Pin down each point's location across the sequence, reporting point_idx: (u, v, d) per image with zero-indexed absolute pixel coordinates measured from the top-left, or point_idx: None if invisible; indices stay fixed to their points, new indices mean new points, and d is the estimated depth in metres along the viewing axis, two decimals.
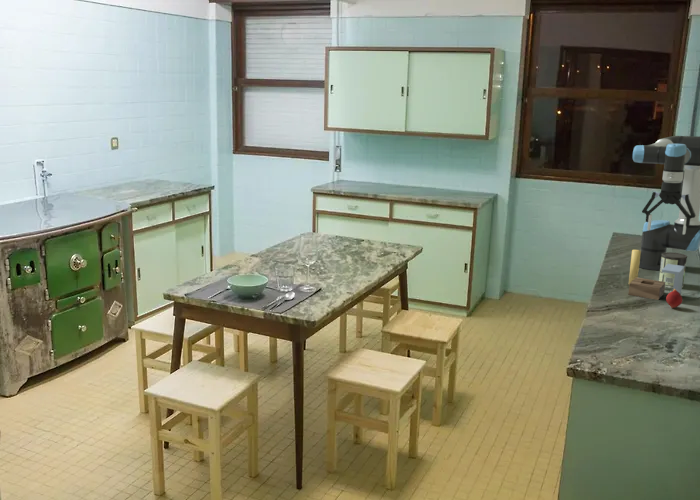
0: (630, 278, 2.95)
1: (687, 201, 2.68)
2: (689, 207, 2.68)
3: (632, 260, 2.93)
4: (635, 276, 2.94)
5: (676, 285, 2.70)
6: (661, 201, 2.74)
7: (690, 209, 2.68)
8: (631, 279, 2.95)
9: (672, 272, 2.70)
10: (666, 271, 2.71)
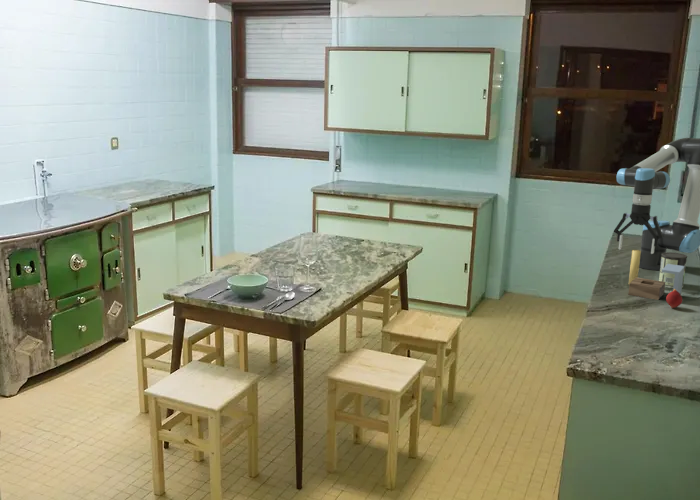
0: (630, 278, 2.95)
1: (655, 222, 2.85)
2: (657, 228, 2.85)
3: (632, 260, 2.93)
4: (635, 276, 2.94)
5: (676, 285, 2.70)
6: (631, 222, 2.90)
7: (658, 230, 2.85)
8: (631, 279, 2.95)
9: (672, 272, 2.70)
10: (666, 271, 2.71)
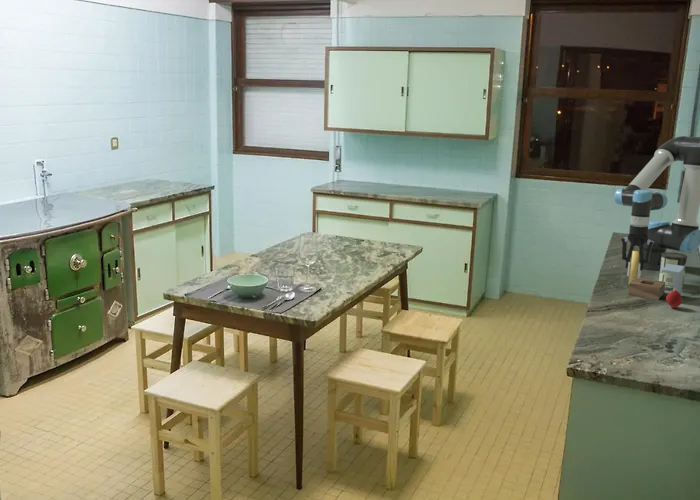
0: (630, 278, 2.95)
1: (649, 247, 2.88)
2: (648, 253, 2.89)
3: (632, 260, 2.93)
4: (635, 276, 2.94)
5: (676, 285, 2.70)
6: (632, 245, 2.92)
7: (647, 255, 2.89)
8: (631, 279, 2.95)
9: (672, 272, 2.70)
10: (666, 271, 2.71)
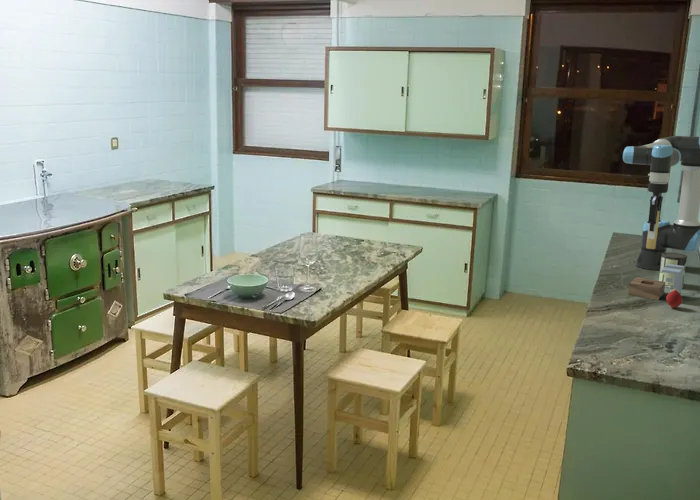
0: None
1: (650, 205, 2.71)
2: None
3: None
4: None
5: (676, 285, 2.70)
6: None
7: None
8: None
9: (672, 272, 2.70)
10: (666, 271, 2.71)
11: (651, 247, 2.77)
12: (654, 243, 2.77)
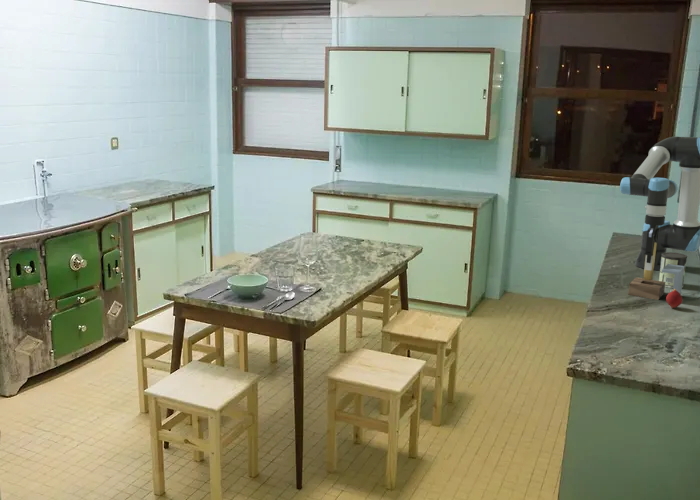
0: None
1: (647, 238, 2.74)
2: None
3: None
4: None
5: (676, 285, 2.70)
6: None
7: None
8: None
9: (672, 272, 2.70)
10: (666, 271, 2.71)
11: (648, 278, 2.80)
12: (651, 274, 2.80)
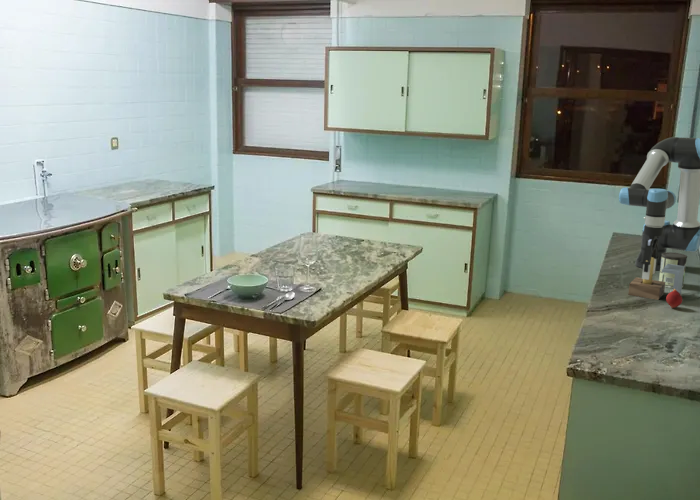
0: None
1: (645, 246, 2.74)
2: None
3: None
4: None
5: (676, 285, 2.70)
6: None
7: (644, 254, 2.74)
8: None
9: (672, 272, 2.70)
10: (666, 271, 2.71)
11: None
12: None
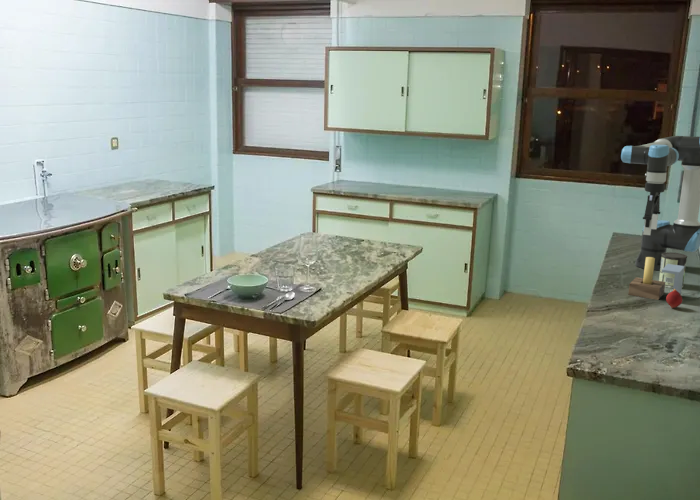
0: None
1: (647, 201, 2.71)
2: None
3: None
4: None
5: (676, 285, 2.70)
6: None
7: (645, 210, 2.71)
8: None
9: (672, 272, 2.70)
10: (666, 271, 2.71)
11: None
12: None
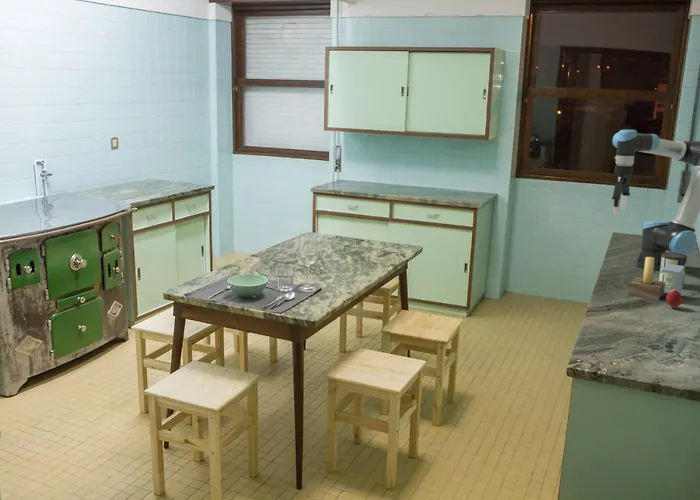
0: None
1: None
2: None
3: None
4: None
5: (676, 285, 2.70)
6: None
7: None
8: None
9: (672, 272, 2.70)
10: (666, 271, 2.71)
11: None
12: None
